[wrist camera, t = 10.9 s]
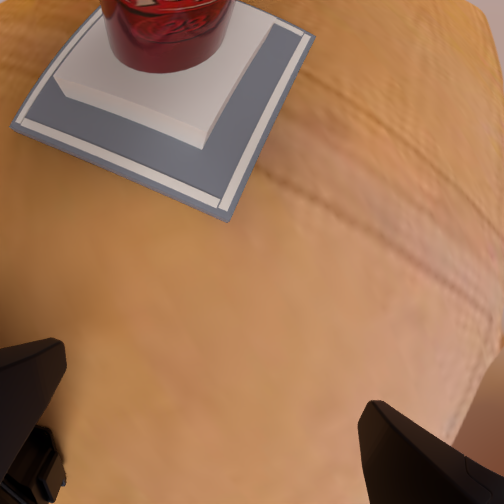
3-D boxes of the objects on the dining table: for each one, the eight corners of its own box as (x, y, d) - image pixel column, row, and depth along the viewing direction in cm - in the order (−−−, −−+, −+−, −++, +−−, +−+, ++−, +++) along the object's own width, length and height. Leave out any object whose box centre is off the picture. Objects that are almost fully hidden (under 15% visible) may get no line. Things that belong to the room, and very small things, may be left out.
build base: (227, 222, 20) (239, 215, 16) (14, 131, 16) (-10, 111, 12) (311, 42, 22) (331, 16, 18) (136, -21, 18) (136, -50, 14)
